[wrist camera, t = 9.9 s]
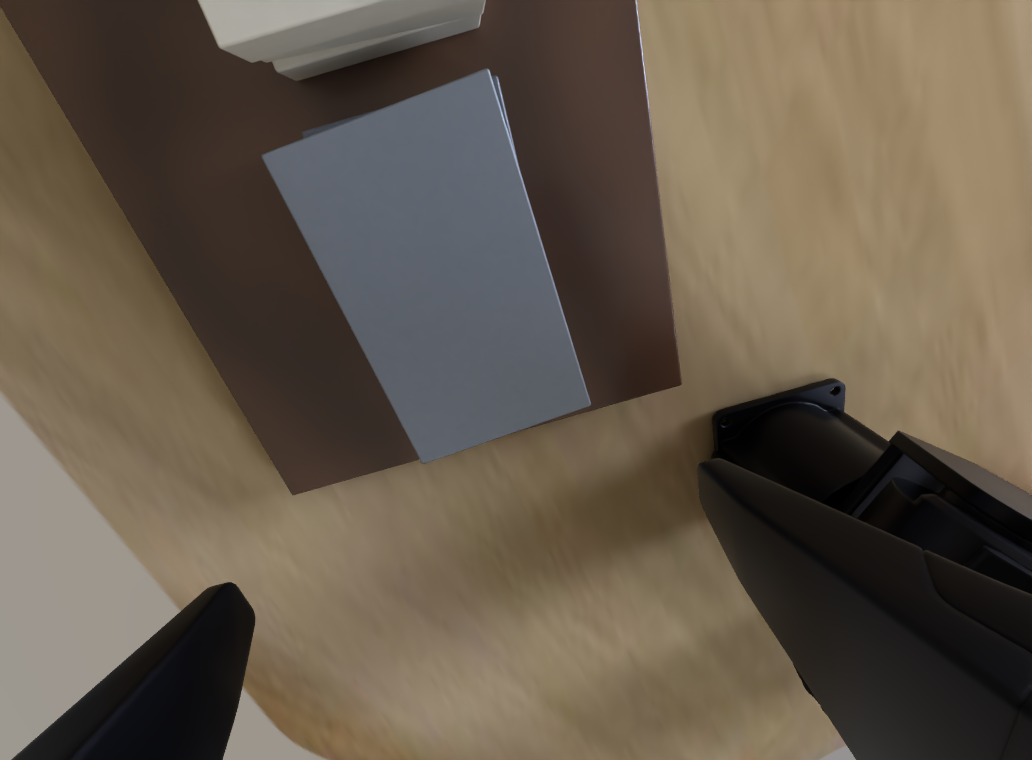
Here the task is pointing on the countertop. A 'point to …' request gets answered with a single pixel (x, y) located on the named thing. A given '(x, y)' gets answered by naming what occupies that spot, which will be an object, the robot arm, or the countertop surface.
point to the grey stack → (437, 263)
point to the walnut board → (277, 239)
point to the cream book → (299, 22)
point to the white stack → (379, 40)
